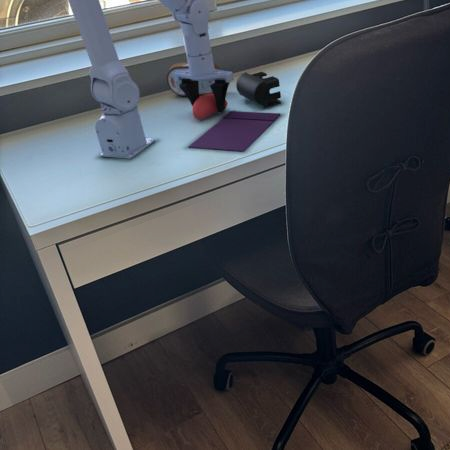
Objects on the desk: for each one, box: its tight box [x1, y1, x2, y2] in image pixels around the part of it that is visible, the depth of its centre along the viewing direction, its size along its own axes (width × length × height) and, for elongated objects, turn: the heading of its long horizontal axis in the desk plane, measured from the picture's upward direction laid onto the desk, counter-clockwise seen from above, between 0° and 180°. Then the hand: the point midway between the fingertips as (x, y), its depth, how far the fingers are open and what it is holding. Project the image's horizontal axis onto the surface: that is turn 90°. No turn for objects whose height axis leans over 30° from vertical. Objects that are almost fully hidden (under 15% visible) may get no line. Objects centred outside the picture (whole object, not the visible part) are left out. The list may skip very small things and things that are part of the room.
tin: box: [165, 61, 222, 97], centre depth 147 cm, size 15×3×8 cm, turn 84°
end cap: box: [235, 71, 282, 109], centre depth 137 cm, size 10×7×7 cm
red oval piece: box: [191, 93, 228, 121], centre depth 134 cm, size 5×9×6 cm, turn 126°
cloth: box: [188, 110, 282, 153], centre depth 125 cm, size 20×13×1 cm, turn 159°
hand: (209, 110), depth 135 cm, fingers closed on red oval piece, 6 cm apart
